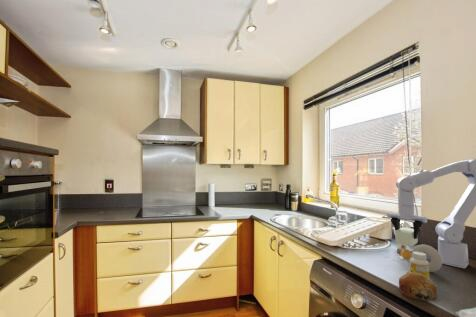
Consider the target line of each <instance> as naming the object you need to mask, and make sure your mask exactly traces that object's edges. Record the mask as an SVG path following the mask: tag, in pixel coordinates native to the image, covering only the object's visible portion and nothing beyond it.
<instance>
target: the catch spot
mask: <svg viewBox="0 0 476 317" xmlns="http://www.w3.org/2000/svg"><path fill="white" fill-rule="evenodd" d="M411 258H412V257H411ZM411 258H410V259H411ZM398 259H400V260H402V261H406V262H410V259H405V258H403V257H402V256H401V255H399V257H398Z"/></svg>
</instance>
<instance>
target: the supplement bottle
mask: <svg viewBox="0 0 476 317" xmlns="http://www.w3.org/2000/svg"><path fill="white" fill-rule="evenodd" d="M412 256H413V258H411V259H410V261H409V264H410V271H409V272H413V273H420V274H422V275H424V276H426V277H428V278H429V279H430V272H429V261H428V260H427V259H428V257H426V254H425V253H422V252H412ZM426 258H427V259H426Z"/></svg>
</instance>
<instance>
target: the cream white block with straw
mask: <svg viewBox="0 0 476 317" xmlns="http://www.w3.org/2000/svg"><path fill="white" fill-rule="evenodd" d="M402 227H404V228H410V229H413V228H411V227H412V226H410V224H409V222H407V221H406V220H403V219H400V228H402ZM391 229H392V230H393V233H394V235H395V228H394V226H393V225H392V228H391ZM395 244H396V243H395ZM397 248H399V249H407V250H410V247H409V246H404V245H399V244H396V249H397Z"/></svg>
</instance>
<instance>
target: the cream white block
mask: <svg viewBox="0 0 476 317" xmlns="http://www.w3.org/2000/svg"><path fill="white" fill-rule="evenodd" d="M394 236H395V244H399V245H404V246H409V248H410V247H413V246H414V245H416V244H418V240H419V238H418V236H417V239H414V228H412V229H410V228H404V227H402V228H400V229H398V230H396V231H395V234H394Z"/></svg>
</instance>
